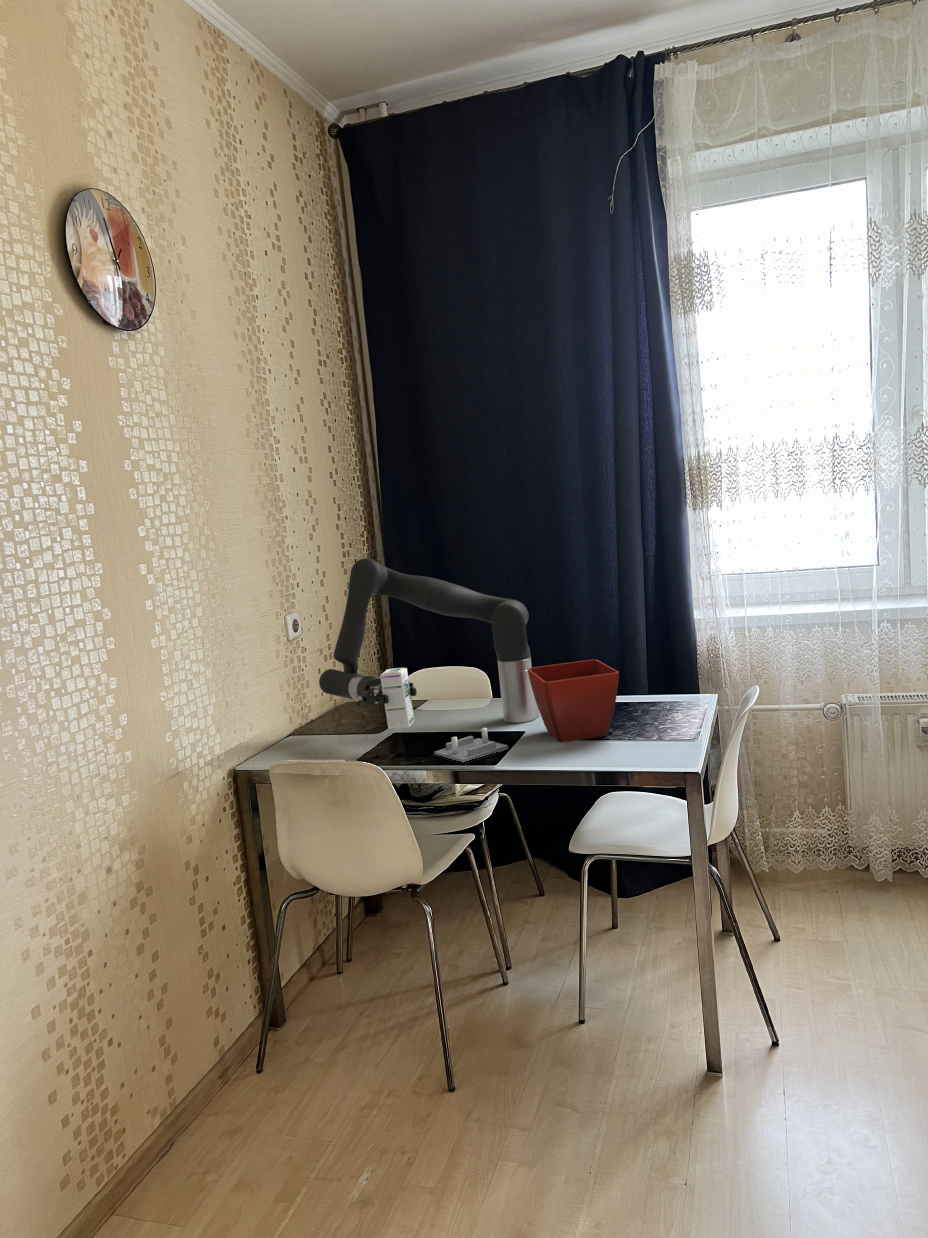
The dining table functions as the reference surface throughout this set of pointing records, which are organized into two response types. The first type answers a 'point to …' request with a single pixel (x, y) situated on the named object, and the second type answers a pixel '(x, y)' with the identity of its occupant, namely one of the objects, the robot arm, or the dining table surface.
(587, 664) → the plant pot
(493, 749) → the pegged rail plate
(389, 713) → the syrup box
